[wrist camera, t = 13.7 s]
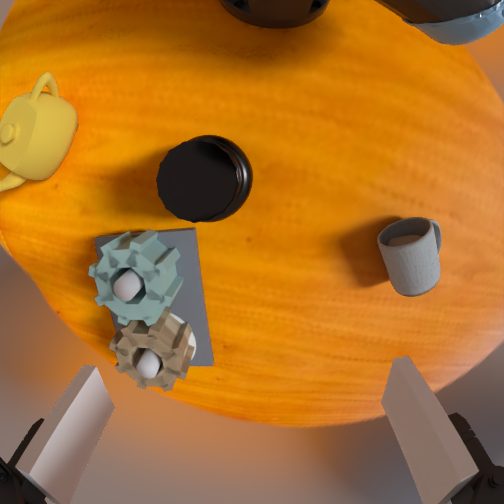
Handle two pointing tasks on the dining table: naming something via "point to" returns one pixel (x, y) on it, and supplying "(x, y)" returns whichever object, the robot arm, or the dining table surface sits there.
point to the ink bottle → (204, 179)
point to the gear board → (186, 293)
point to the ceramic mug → (411, 254)
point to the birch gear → (154, 349)
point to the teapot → (36, 134)
